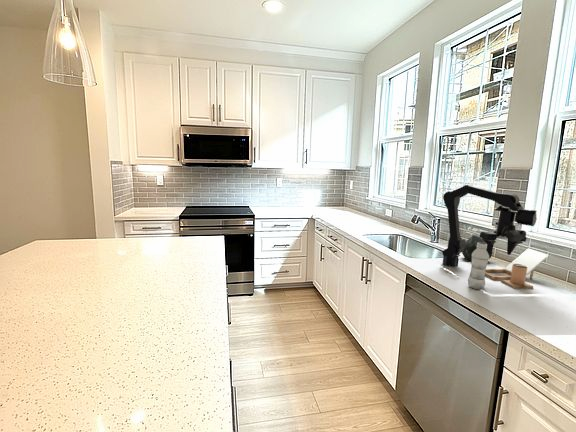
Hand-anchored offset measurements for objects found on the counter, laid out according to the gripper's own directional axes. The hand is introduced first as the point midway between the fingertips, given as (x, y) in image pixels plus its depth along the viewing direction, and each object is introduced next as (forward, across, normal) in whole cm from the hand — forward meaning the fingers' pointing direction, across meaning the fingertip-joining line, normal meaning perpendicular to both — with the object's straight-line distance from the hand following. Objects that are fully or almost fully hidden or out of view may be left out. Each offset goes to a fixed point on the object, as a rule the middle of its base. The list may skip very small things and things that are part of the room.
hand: (499, 254), depth 142 cm
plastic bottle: (+12, -17, -11) cm, 24 cm away
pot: (+10, +2, -10) cm, 14 cm away
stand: (+12, +3, -10) cm, 16 cm away
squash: (+13, +11, +28) cm, 33 cm away
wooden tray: (+12, +3, +2) cm, 13 cm away
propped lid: (+12, +16, +2) cm, 20 cm away
